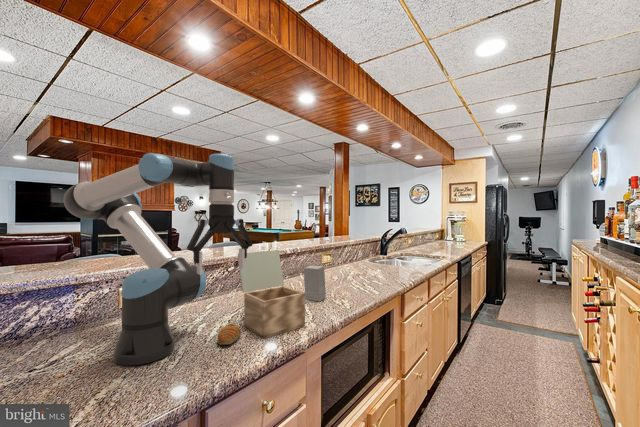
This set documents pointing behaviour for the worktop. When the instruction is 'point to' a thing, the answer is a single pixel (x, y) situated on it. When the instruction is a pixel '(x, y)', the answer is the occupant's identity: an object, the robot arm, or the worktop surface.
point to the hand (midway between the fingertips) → (221, 271)
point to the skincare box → (314, 283)
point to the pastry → (229, 334)
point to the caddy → (274, 311)
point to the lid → (261, 271)
